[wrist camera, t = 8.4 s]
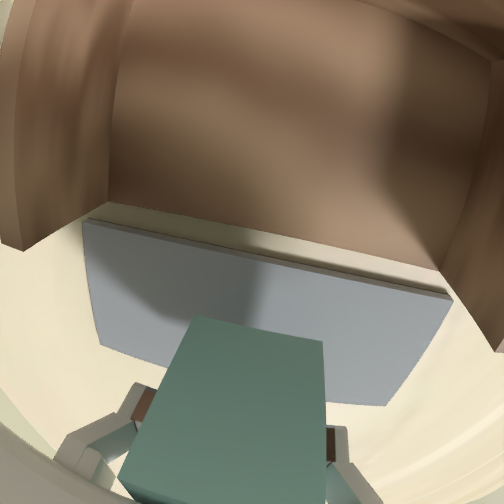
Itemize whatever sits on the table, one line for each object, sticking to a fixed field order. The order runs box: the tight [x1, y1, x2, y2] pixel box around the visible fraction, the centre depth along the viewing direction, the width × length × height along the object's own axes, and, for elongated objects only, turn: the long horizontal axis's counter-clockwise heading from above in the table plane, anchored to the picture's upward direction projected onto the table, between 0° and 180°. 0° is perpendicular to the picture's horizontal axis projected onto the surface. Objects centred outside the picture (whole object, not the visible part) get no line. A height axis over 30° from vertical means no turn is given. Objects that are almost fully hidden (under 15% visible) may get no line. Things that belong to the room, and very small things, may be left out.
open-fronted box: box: [0, 0, 504, 353], centre depth 7 cm, size 12×19×6 cm, turn 80°
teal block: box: [117, 314, 326, 504], centre depth 9 cm, size 5×5×7 cm
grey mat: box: [82, 218, 454, 406], centre depth 15 cm, size 9×20×1 cm, turn 80°
